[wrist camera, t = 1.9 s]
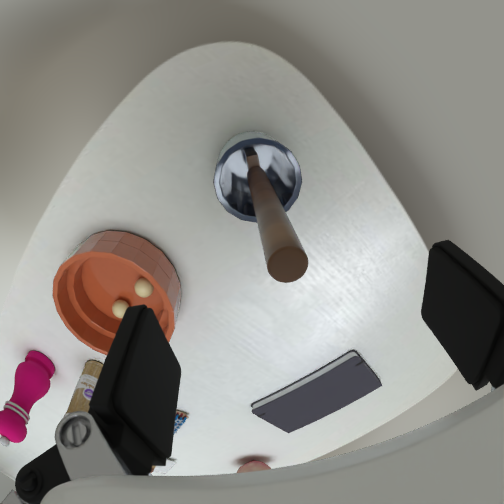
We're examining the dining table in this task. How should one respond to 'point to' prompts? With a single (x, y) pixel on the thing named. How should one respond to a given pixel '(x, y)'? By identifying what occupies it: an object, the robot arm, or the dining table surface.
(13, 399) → the pepper mill
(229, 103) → the dining table surface
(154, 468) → the dessert
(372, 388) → the notebook
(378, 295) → the dining table surface
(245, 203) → the crock
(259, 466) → the decorative fruit
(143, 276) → the bowl
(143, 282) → the dough ball
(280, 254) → the brown long handled piece
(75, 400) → the sprinkles bottle
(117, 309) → the dough ball
